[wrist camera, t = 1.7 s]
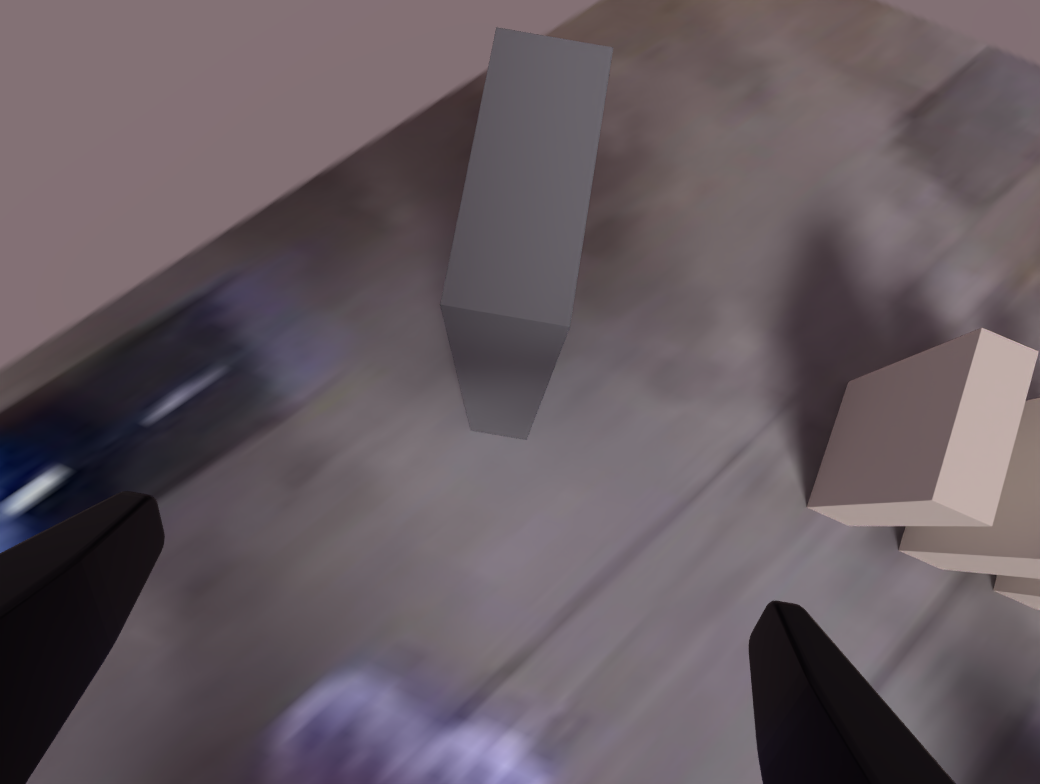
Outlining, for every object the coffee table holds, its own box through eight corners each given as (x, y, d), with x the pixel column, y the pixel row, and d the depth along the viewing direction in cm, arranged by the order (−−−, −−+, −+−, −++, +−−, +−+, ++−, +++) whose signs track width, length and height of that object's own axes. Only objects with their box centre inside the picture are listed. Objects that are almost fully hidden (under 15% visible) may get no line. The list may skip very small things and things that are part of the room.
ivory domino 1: (888, 399, 23) (1038, 351, 17) (849, 526, 22) (992, 526, 16) (848, 381, 23) (981, 327, 17) (806, 507, 22) (932, 500, 16)
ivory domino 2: (977, 439, 23) (1162, 406, 17) (941, 569, 22) (1123, 587, 16) (936, 421, 23) (1104, 382, 17) (898, 550, 22) (1062, 560, 16)
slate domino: (548, 307, 23) (613, 47, 11) (526, 439, 22) (570, 326, 10) (495, 298, 23) (496, 27, 11) (470, 430, 22) (440, 305, 10)
